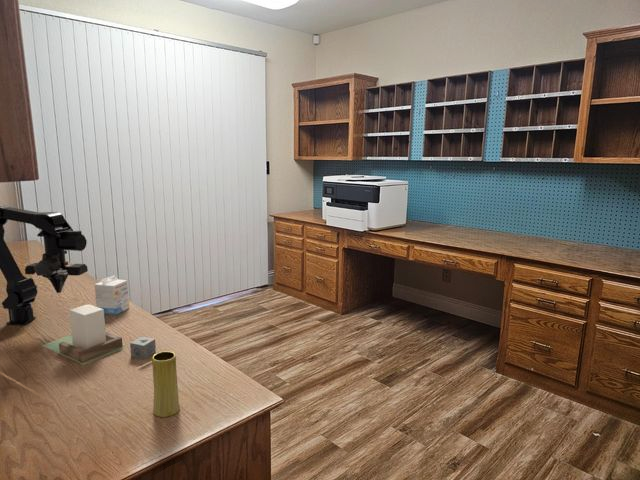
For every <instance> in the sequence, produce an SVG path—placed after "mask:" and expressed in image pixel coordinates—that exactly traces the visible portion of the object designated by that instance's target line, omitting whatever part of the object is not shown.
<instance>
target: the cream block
mask: <svg viewBox="0 0 640 480" xmlns="http://www.w3.org/2000/svg"><path fill="white" fill-rule="evenodd" d="M68 313H69V321H70V331H71V335H72V344H73V346H75V347H78V348H80V349H82V350H86V349H88V348H91V347H93V346H96V345H99V344H101V343H104V342H106V333H105V332H106V324H105V323H106V321H105V314H104V309H101V308H98V307H96V305H95V306H94V305H92V304H88V303H87V304H84V305H82V306H77V307H74V308H71V309H69V312H68Z"/></svg>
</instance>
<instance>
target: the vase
mask: <svg viewBox="0 0 640 480" xmlns="http://www.w3.org/2000/svg"><path fill="white" fill-rule="evenodd" d="M151 363H152V381H153V382H152V383H153V404H152V405H153V408H152V412H153V415H155V416H156V417H158V418H159V417H160V418H167V417H171V416H173V415H176V413H178V412H179V411H180V407H181V406H180V402H179V399H180V398H179V385H178V375H177V373H178V372H177V356H176V353H175V352H174V351H171V350H170V351H169V350H167V351H166V350H164V351H160V352H159V351H158V352H155V353H154V354H152V357H151Z"/></svg>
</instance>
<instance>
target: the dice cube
mask: <svg viewBox="0 0 640 480" xmlns="http://www.w3.org/2000/svg"><path fill="white" fill-rule="evenodd" d="M129 346H130V347H129V348H130V357H131V358H136V359H142V360H146V359H147V358H149V357H150V356H153V355H155V354H156V353H157V350H156V339H155V338H152V337H147V336H146V337H145V336H140V337H138V338H137V339H135V340H133V341H131V342H130V343H129Z"/></svg>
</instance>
